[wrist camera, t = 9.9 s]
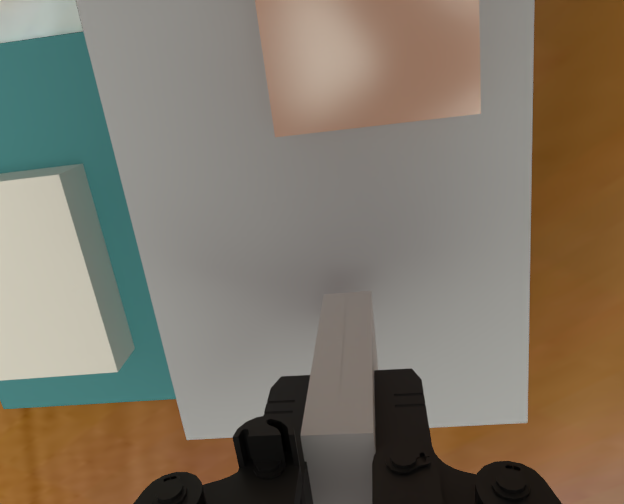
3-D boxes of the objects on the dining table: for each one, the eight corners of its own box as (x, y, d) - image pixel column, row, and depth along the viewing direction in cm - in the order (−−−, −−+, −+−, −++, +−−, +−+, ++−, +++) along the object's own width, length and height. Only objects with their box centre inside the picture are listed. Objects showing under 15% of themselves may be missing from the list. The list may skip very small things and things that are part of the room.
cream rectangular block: (58, 174, 21) (82, 163, 23) (-81, 191, 22) (-47, 179, 24) (117, 372, 24) (134, 348, 26) (-7, 381, 25) (19, 357, 27)
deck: (92, -142, 19) (28, -185, 16) (500, -217, 18) (538, -285, 14) (210, 384, 27) (186, 439, 23) (502, 366, 25) (527, 422, 22)
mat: (-125, 61, 23) (-131, 62, 22) (129, 25, 21) (126, 25, 21) (7, 405, 29) (3, 409, 28) (212, 393, 27) (210, 396, 27)
